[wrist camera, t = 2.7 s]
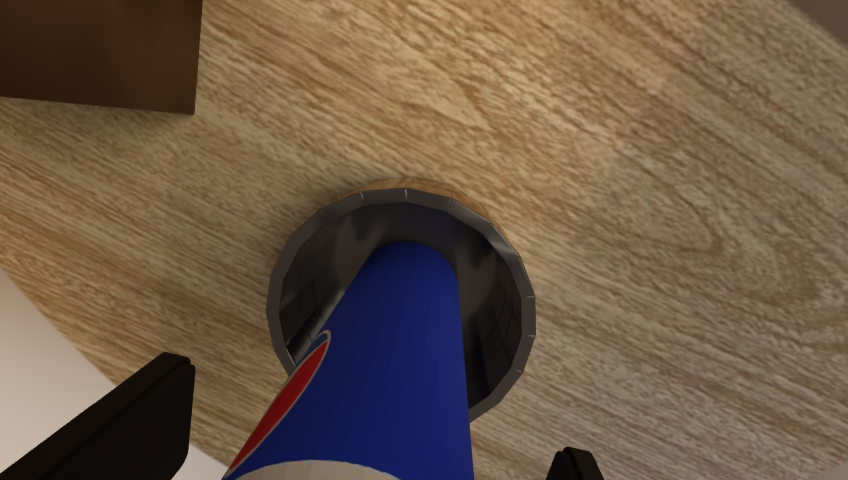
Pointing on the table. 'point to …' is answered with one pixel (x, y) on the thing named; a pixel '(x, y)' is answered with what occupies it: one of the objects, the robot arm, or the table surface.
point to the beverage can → (374, 384)
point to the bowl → (428, 225)
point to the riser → (102, 52)
